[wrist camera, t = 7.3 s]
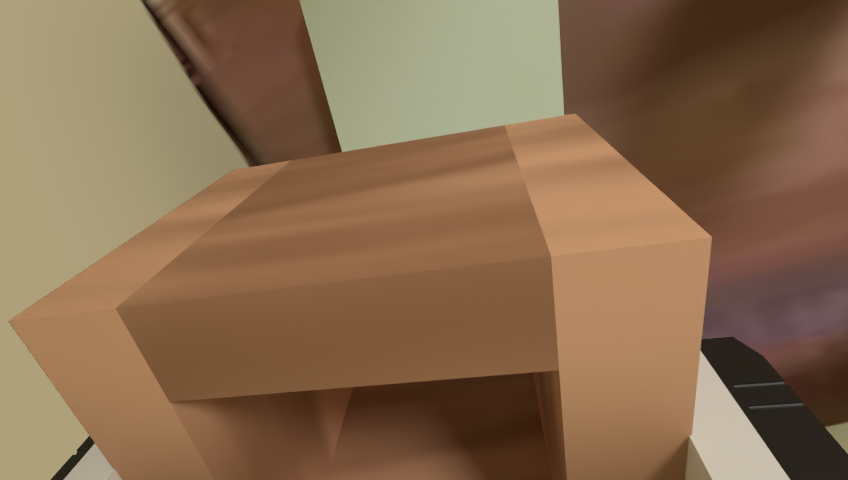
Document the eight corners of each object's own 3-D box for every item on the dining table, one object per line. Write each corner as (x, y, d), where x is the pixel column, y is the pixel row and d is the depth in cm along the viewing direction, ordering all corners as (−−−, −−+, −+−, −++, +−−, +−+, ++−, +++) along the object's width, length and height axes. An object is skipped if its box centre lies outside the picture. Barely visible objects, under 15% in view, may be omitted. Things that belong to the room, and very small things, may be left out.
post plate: (308, -1, 23) (299, -1, 22) (549, -57, 21) (554, -61, 20) (394, 314, 32) (391, 327, 31) (569, 295, 30) (574, 308, 29)
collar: (232, 169, 11) (8, 321, 6) (575, 113, 10) (712, 237, 4) (324, 410, 14) (240, 648, 9) (585, 391, 13) (669, 652, 8)
